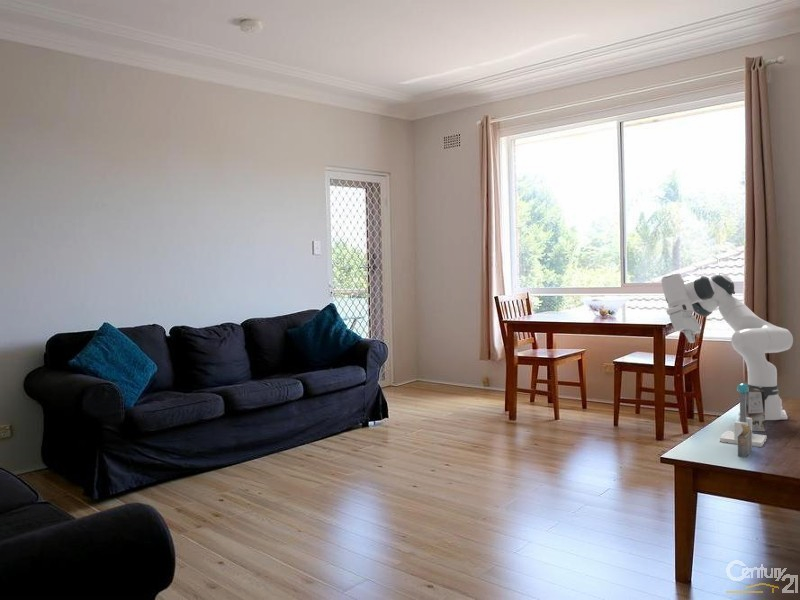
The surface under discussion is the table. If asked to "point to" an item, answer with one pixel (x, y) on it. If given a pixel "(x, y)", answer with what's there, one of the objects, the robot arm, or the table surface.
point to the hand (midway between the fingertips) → (692, 342)
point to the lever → (742, 401)
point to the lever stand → (733, 436)
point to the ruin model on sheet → (744, 441)
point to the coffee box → (756, 408)
